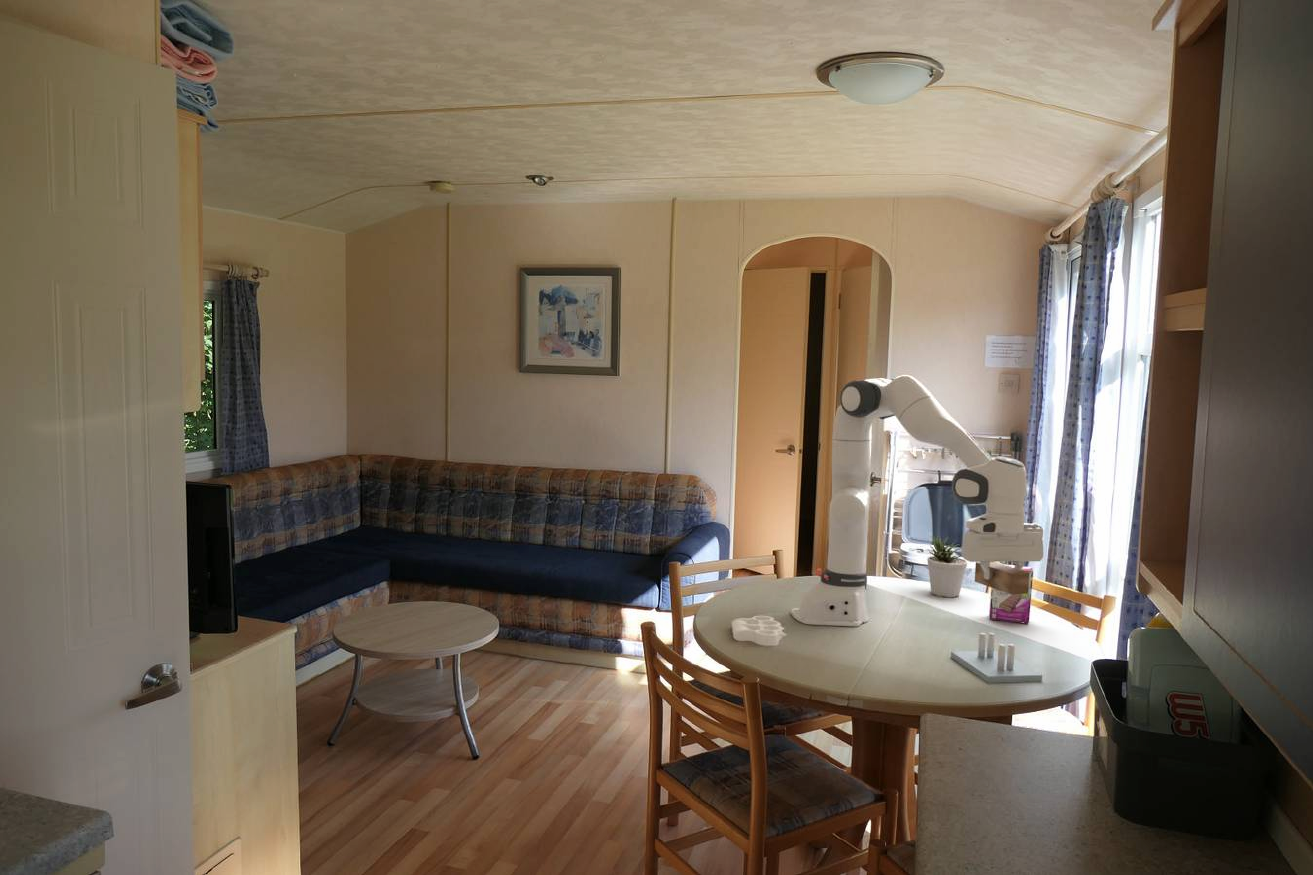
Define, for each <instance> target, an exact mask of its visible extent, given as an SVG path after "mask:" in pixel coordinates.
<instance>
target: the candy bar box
mask: <svg viewBox="0 0 1313 875" xmlns="http://www.w3.org/2000/svg"><path fill="white" fill-rule="evenodd" d="M1001 564H1002V565H1006V566H1009V567H1012V568H1014V567H1015V565H1016V564H1014V565H1013V564H1005V563H1004V564H1003V563H1001ZM1021 570H1022V571H1025V572H1028V573H1030V575H1029V591H1028V593H1027V594H1015V595H1011V594H1008V593H1005V592H1003V591H1000V590H997V589H994V588H991V587H990V598H989V599H990V600H989V614H988V615H989V620H992V619H993V620H994V621H1000V620H1002V622H1008V621H1009V622H1010V623H1016V622H1024V623H1023V624H1025V623H1029V624H1030V614H1031V602H1032V590H1033V579H1034V569H1033V567H1032V566H1031V567H1030V566H1023V568H1022V569H1021Z"/></svg>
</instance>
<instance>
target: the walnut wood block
mask: <svg viewBox="0 0 1313 875" xmlns="http://www.w3.org/2000/svg"><path fill="white" fill-rule="evenodd" d="M1002 564H1003V563H1000V562H990V566H988V568H989V571H990V572H993V579H989V580H988V579H985V578H984V571H983V569H982V567H981V565H980V562H975V568H974V569H975V570H974V583H977V584H980V585H983V586H986V587H988V588H990V589H991V588H994V589H997V590H1000V591H1003V592H1005V593H1008V594H1011V595H1015V594H1027V593H1028V591H1029V575H1030V573H1028V572H1025V571H1022V570H1018V569H1015V568H1012V567H1009V566H1006V565H1007V564H1006V565H1002Z"/></svg>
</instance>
